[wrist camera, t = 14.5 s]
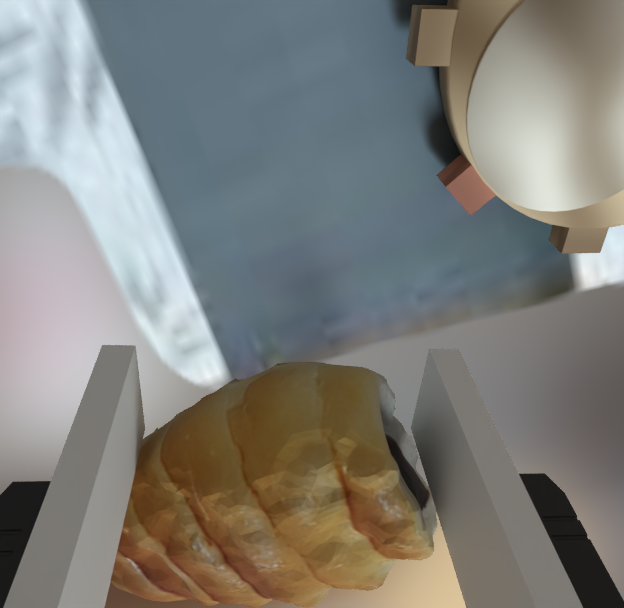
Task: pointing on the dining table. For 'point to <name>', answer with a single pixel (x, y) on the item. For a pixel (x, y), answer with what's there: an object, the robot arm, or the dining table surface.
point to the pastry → (276, 493)
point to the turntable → (532, 108)
